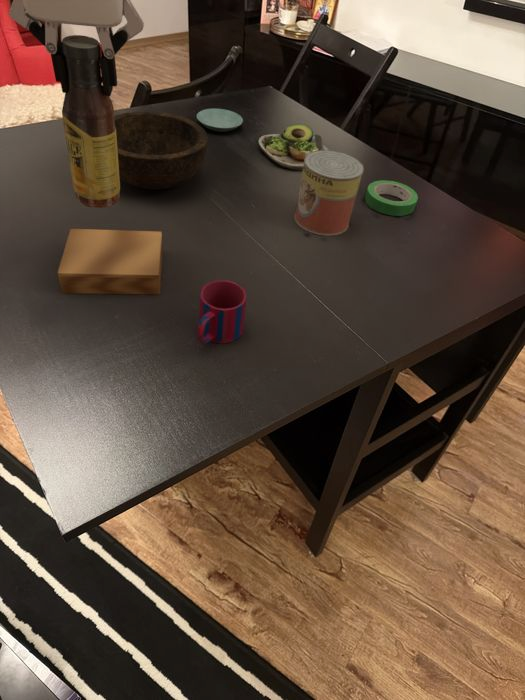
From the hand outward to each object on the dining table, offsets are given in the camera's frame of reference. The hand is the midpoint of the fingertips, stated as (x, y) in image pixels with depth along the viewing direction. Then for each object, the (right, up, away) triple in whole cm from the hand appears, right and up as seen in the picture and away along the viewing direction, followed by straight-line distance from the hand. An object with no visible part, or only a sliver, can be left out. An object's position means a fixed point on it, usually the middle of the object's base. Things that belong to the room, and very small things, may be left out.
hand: (88, 88), depth 57 cm
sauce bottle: (-2, -10, +11) cm, 15 cm away
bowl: (-2, +4, +44) cm, 45 cm away
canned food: (+33, -5, +41) cm, 53 cm away
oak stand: (-4, -18, +23) cm, 29 cm away
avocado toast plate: (+29, +17, +61) cm, 69 cm away
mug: (+14, -29, +15) cm, 36 cm away
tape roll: (+49, +1, +49) cm, 69 cm away
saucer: (+10, +27, +67) cm, 73 cm away
